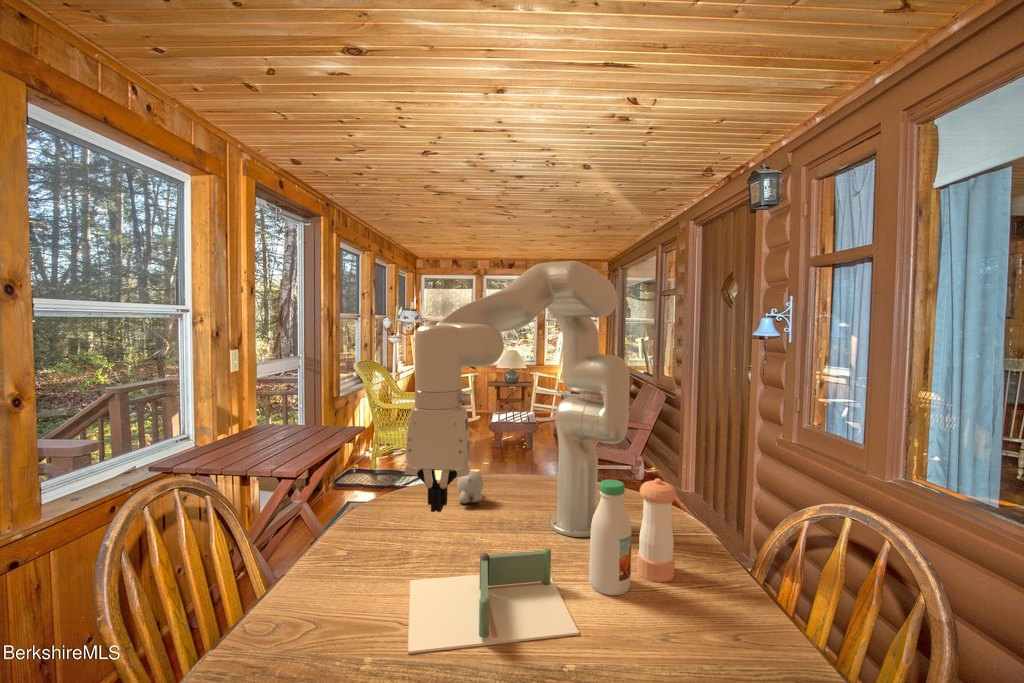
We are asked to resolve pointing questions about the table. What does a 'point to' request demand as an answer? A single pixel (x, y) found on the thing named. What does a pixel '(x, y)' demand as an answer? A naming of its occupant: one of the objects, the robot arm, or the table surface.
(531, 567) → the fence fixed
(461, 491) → the chubby cartoon animal
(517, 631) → the card
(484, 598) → the fence panel
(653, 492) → the salt shaker
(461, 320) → the robot arm
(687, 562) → the table surface
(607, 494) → the milk bottle
